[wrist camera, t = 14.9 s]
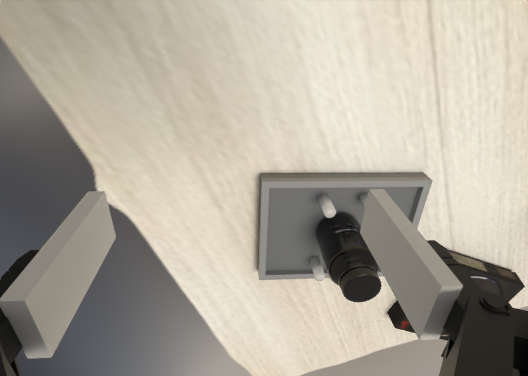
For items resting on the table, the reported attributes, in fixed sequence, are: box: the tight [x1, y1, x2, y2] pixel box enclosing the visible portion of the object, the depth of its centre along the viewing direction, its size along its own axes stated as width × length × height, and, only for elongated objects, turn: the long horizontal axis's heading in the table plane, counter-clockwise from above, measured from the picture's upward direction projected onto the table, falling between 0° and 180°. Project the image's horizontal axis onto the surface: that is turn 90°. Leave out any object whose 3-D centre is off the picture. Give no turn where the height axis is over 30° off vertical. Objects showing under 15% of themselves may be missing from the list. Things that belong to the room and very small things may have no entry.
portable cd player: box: [387, 251, 525, 341], centre depth 59 cm, size 16×17×4 cm
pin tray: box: [258, 173, 432, 281], centre depth 48 cm, size 24×18×6 cm
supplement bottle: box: [316, 213, 381, 302], centre depth 44 cm, size 7×7×12 cm
